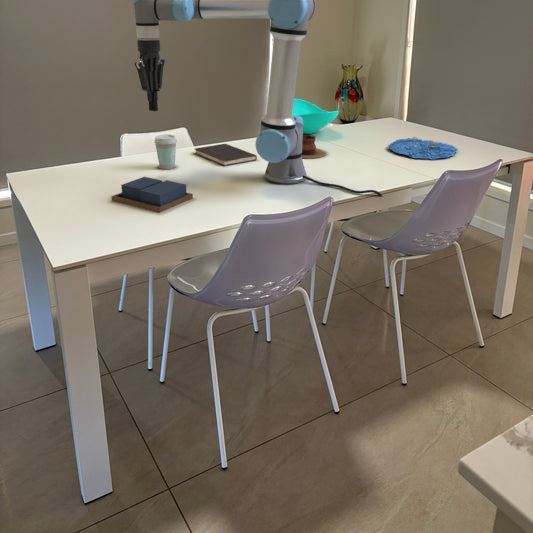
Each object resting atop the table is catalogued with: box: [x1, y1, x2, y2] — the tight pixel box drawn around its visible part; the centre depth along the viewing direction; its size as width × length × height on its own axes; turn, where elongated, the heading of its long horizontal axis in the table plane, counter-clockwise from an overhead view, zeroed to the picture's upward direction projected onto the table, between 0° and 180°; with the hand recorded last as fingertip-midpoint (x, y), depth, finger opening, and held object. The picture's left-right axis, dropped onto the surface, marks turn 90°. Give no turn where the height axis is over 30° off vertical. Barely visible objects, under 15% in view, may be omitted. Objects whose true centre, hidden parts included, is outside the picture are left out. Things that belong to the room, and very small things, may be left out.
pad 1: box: [120, 176, 163, 202], centre depth 195 cm, size 8×11×5 cm
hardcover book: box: [194, 143, 258, 167], centre depth 244 cm, size 16×23×2 cm
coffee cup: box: [154, 134, 178, 170], centre depth 228 cm, size 9×9×12 cm
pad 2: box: [140, 179, 188, 207], centre depth 191 cm, size 8×13×5 cm, turn 148°
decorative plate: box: [387, 136, 459, 160], centre depth 256 cm, size 30×30×5 cm
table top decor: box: [292, 98, 340, 135], centre depth 284 cm, size 40×28×13 cm
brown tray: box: [111, 192, 194, 213], centre depth 194 cm, size 21×17×2 cm
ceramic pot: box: [302, 134, 327, 159], centre depth 250 cm, size 18×18×7 cm
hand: (153, 110), depth 208 cm, fingers closed
